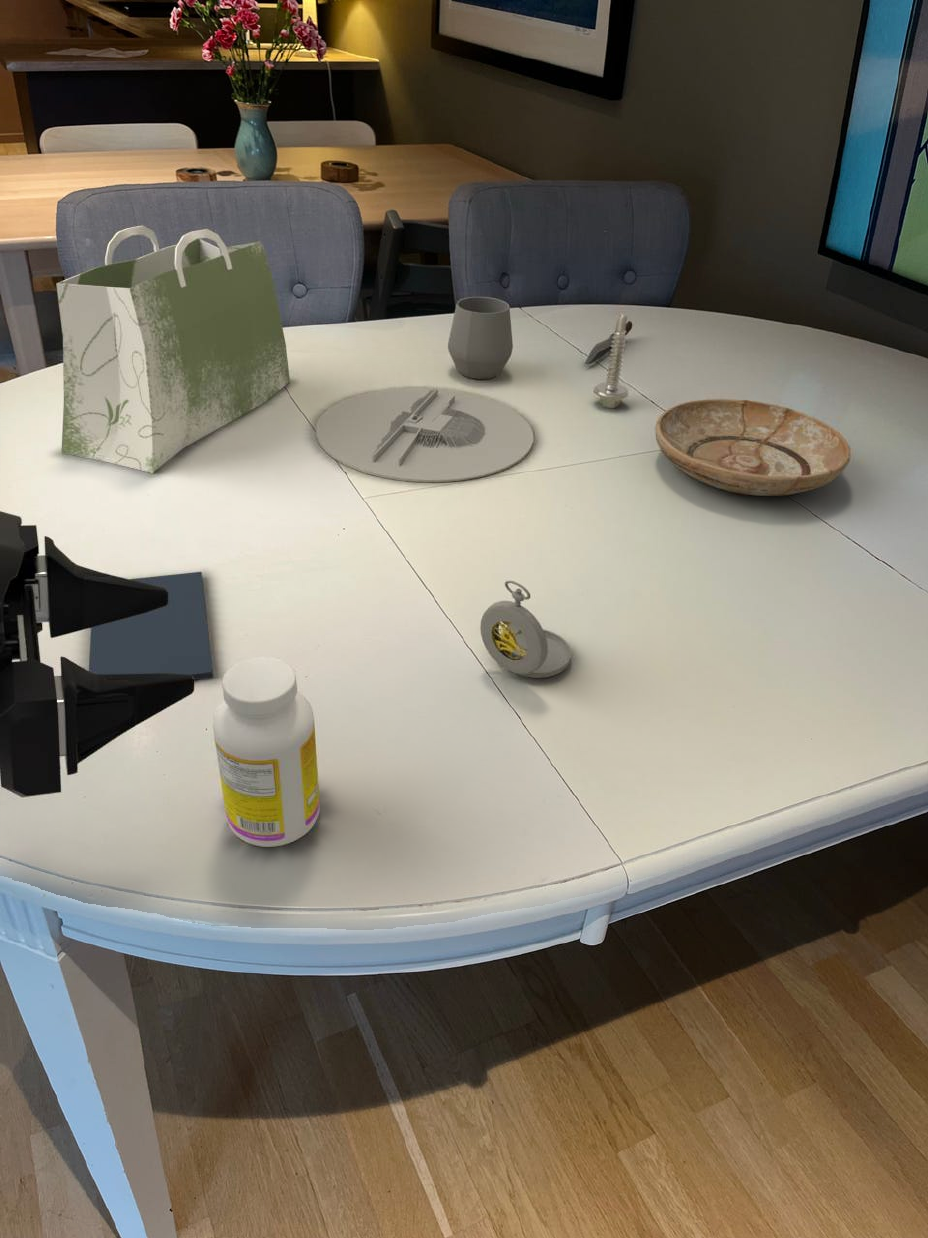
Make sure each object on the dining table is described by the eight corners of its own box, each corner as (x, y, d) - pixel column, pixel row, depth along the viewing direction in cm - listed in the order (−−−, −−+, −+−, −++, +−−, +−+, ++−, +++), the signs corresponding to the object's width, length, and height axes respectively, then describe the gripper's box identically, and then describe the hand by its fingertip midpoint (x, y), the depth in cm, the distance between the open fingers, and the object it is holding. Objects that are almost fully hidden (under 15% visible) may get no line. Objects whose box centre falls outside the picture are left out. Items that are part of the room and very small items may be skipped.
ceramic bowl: (862, 463, 122) (873, 427, 119) (806, 538, 106) (818, 498, 103) (692, 415, 132) (699, 381, 129) (618, 477, 116) (624, 439, 113)
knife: (587, 371, 144) (590, 352, 142) (578, 369, 144) (581, 350, 142) (633, 338, 157) (636, 320, 155) (624, 336, 157) (627, 318, 156)
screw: (625, 413, 132) (590, 409, 132) (627, 399, 135) (593, 395, 136) (640, 319, 124) (603, 315, 125) (641, 308, 128) (605, 304, 128)
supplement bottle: (295, 770, 73) (285, 635, 65) (336, 827, 68) (330, 689, 61) (211, 805, 70) (191, 667, 62) (249, 866, 65) (232, 725, 58)
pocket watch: (570, 640, 88) (583, 547, 82) (569, 698, 81) (583, 602, 76) (482, 631, 89) (489, 538, 83) (474, 689, 82) (480, 592, 76)
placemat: (213, 677, 81) (212, 671, 81) (88, 693, 79) (87, 688, 78) (202, 576, 94) (201, 571, 93) (94, 587, 91) (93, 582, 91)
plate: (370, 376, 138) (370, 368, 137) (557, 411, 131) (558, 402, 130) (276, 454, 116) (275, 445, 115) (494, 501, 109) (495, 491, 108)
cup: (464, 356, 146) (467, 290, 140) (520, 369, 143) (526, 302, 137) (436, 376, 139) (438, 307, 133) (494, 389, 136) (499, 319, 130)
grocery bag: (210, 364, 138) (191, 193, 125) (294, 382, 135) (284, 207, 121) (57, 451, 114) (13, 250, 100) (155, 476, 110) (123, 270, 97)
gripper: (-161, 631, 40) (218, 610, 46) (-130, 444, 53) (160, 448, 60) (-126, 824, 46) (207, 780, 52) (-106, 610, 59) (155, 598, 66)
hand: (180, 637), depth 57 cm, fingers open, 9 cm apart
